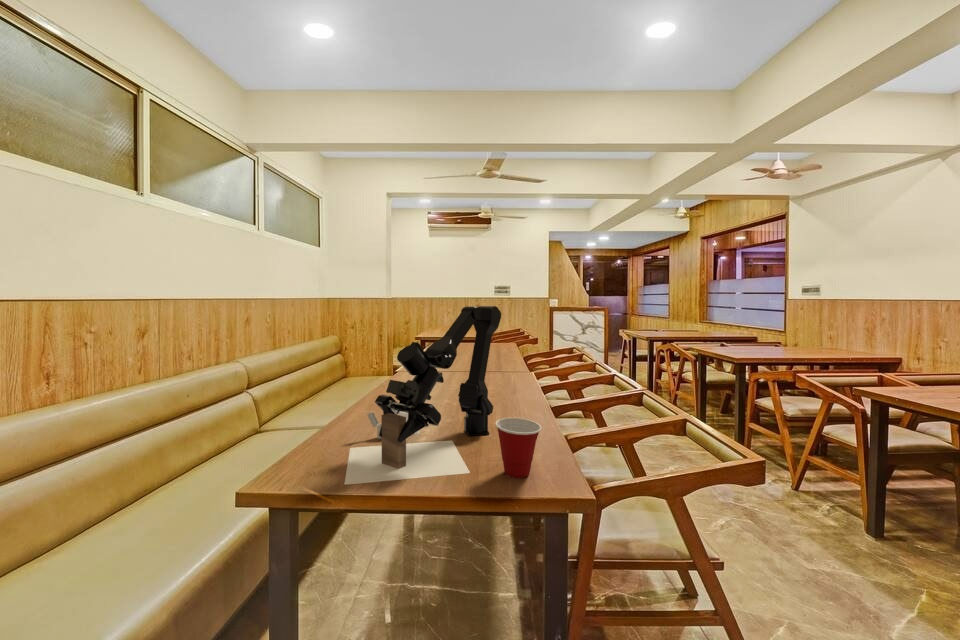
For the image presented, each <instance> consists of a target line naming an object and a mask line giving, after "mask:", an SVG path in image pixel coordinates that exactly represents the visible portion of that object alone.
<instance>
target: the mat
mask: <svg viewBox="0 0 960 640" xmlns="http://www.w3.org/2000/svg"><path fill="white" fill-rule="evenodd" d="M470 473H471V471H470V470H469V468H468V467H467V465H466V463H465V460H464V459H463V458H462V456H461V454H460V452H459V450H458V448H457V446H456V445H455V443H454V442H453V440H439V441H428V442H427V441H425V442H413V443H406V466H405V467H402V468H400V469H397V468H394V467H391V466H388V465H385V464H382V445H369V446H358V447H350V448H349V453H348V459H347V466H346V472H345V479H344V485H355V484H357V485H358V484H366V483H367V484H368V483H377V482H378V483H379V482H389V481H390V482H391V481H399V480H410V479H411V480H412V479H419V478H420V479H422V478H431V477H441V476H442V477H445V476H455V475H464V474H465V475H466V474H470Z"/></svg>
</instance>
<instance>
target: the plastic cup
mask: <svg viewBox="0 0 960 640" xmlns="http://www.w3.org/2000/svg"><path fill="white" fill-rule="evenodd" d="M495 428H496V429H497V433H498V439H499V447H500V452H501V457H502V458H501V459H502V462H503V463H502V464H503V465H502V466H503V471H504V474H505V475H506V476H507V475H508V476H507V477H509V476H510V477H509V478H511V477H514V478H513V479H523V478H522V477H525V478H527V477H528V476H530V472H531V468H532V461H533V458H534V454H535V450H536V449H535V448H536V444H537V440H538V437H539V433H540V432H541V431H542V429H543V428H542V426H541V424H540V423H538V422H536V421H533V420H531V419H527V418H523V417H503V418H500V419H497V420H496V421H495ZM526 476H527V477H526Z"/></svg>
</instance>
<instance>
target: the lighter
mask: <svg viewBox="0 0 960 640" xmlns="http://www.w3.org/2000/svg"><path fill="white" fill-rule="evenodd" d="M367 418H368V420H369V422H370V423H371V425H372V427H373V428H375V427H376V429H377V434H376V435H377V436H376V437H377V438H376V439H377V440H382V437H380V436H379V433H380V429H381V425H382V421H381V423H379V421H378V418H377V416H376V414H375V412H374V411H370V412H368V413H367Z"/></svg>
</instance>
